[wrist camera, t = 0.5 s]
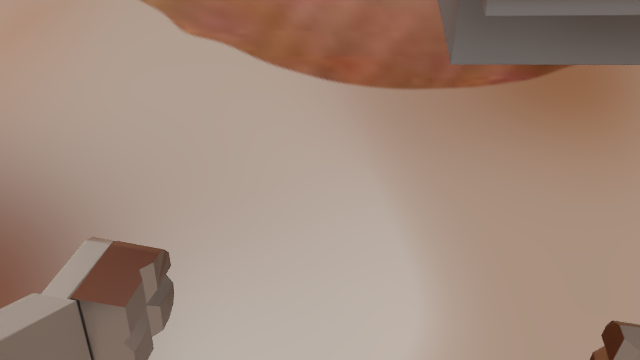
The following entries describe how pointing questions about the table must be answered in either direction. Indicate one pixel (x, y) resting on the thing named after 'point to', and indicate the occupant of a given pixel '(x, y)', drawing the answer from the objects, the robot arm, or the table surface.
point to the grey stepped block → (542, 31)
